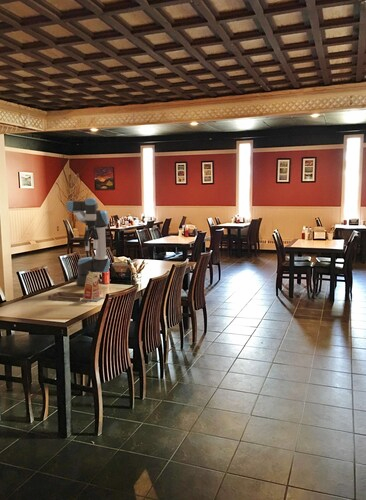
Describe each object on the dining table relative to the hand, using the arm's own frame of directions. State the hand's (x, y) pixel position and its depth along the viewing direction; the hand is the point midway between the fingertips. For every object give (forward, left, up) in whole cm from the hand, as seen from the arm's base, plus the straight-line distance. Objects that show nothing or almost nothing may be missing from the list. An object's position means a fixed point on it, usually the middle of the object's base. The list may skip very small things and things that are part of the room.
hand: (91, 249), depth 304 cm
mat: (0, 0, -37) cm, 37 cm away
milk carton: (0, 0, -36) cm, 36 cm away
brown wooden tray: (0, -19, -37) cm, 41 cm away
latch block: (-14, -3, -37) cm, 39 cm away
